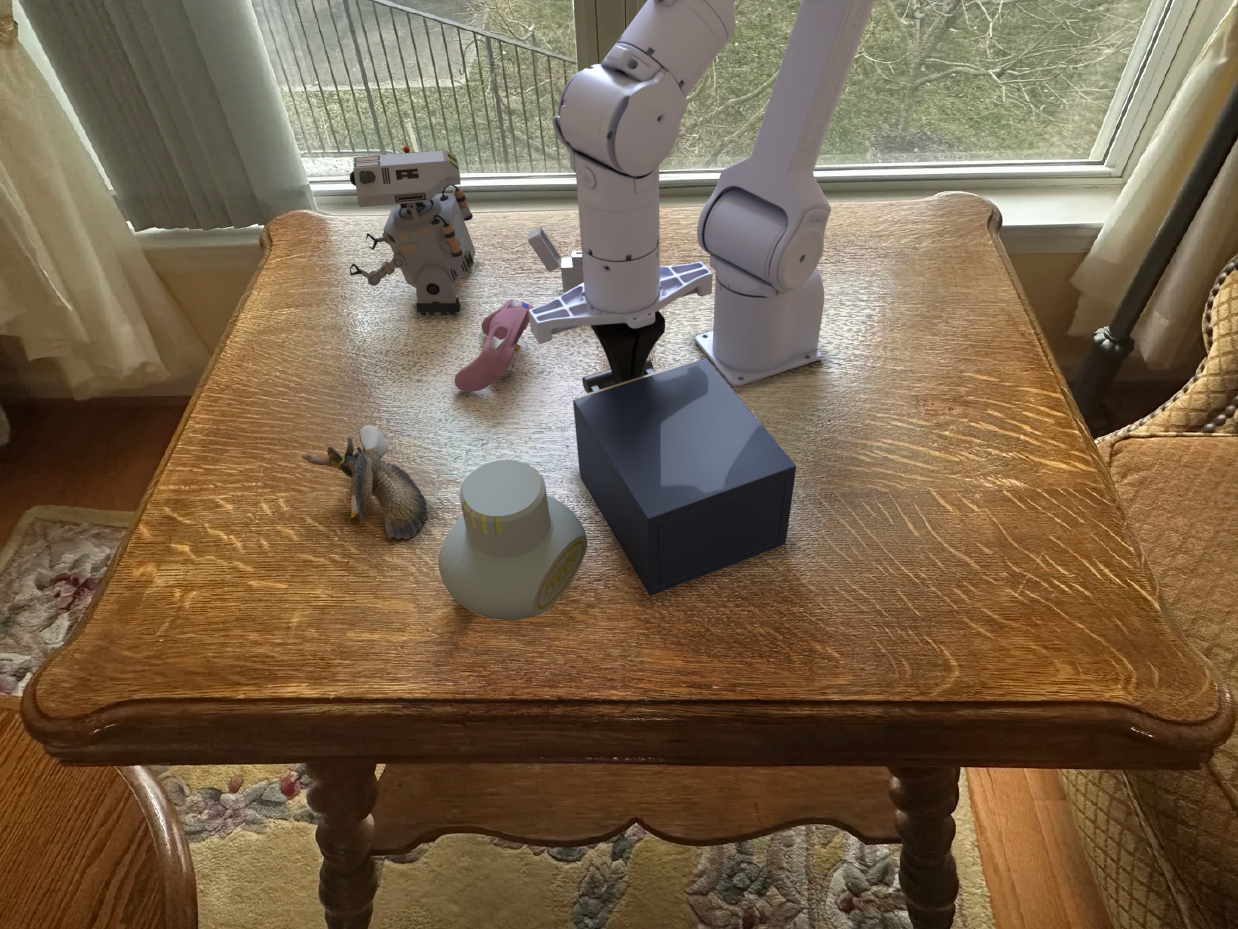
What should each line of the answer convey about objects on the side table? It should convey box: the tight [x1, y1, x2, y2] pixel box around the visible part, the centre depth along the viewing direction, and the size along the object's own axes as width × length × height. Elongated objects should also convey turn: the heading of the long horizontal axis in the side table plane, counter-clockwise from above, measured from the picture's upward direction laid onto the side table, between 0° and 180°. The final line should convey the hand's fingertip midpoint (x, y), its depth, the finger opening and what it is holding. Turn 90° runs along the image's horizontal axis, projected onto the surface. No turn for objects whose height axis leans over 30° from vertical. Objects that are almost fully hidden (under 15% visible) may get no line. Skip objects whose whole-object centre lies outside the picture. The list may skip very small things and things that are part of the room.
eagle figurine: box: [301, 424, 428, 540], centre depth 75 cm, size 8×7×9 cm
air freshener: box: [437, 459, 588, 621], centre depth 67 cm, size 11×8×10 cm
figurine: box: [349, 145, 477, 316], centre depth 93 cm, size 9×12×15 cm
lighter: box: [527, 226, 584, 294], centre depth 94 cm, size 7×2×8 cm, turn 90°
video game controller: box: [454, 298, 535, 393], centre depth 87 cm, size 10×5×7 cm, turn 168°
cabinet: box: [572, 357, 797, 597], centre depth 72 cm, size 14×12×9 cm
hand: (625, 384), depth 78 cm, fingers closed
